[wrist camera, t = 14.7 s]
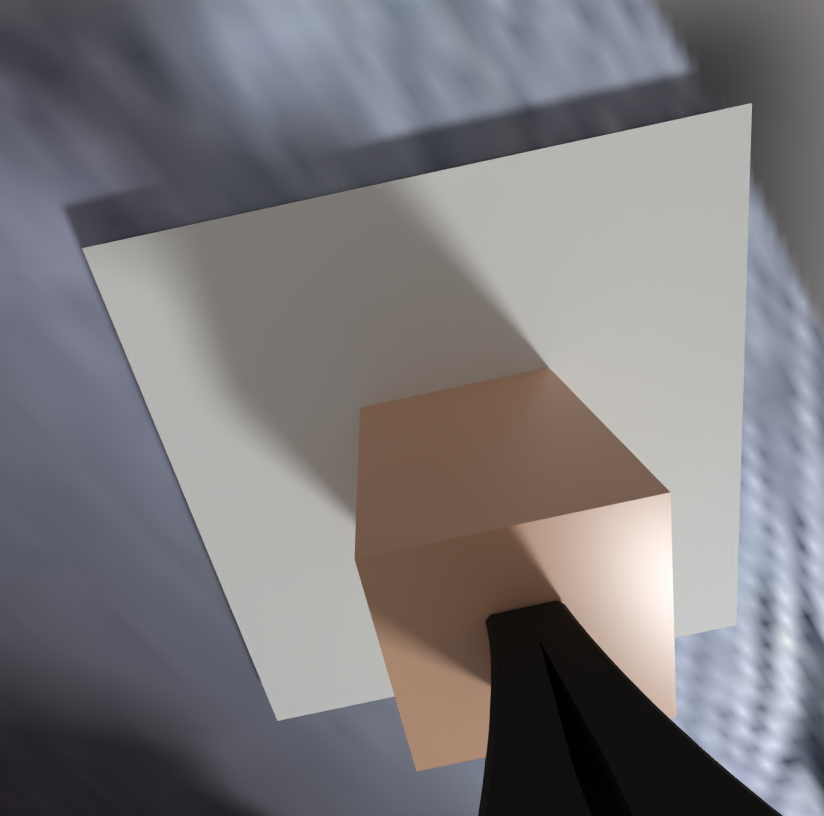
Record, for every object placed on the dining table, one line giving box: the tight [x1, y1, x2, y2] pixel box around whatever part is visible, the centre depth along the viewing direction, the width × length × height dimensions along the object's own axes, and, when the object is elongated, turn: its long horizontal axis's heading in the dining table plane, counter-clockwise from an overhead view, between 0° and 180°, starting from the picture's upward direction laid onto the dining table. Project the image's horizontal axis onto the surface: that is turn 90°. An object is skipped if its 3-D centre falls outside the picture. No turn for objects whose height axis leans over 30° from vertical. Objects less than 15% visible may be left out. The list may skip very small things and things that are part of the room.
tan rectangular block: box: [354, 367, 676, 771], centre depth 13 cm, size 5×5×7 cm
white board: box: [82, 104, 752, 721], centre depth 14 cm, size 16×16×6 cm
